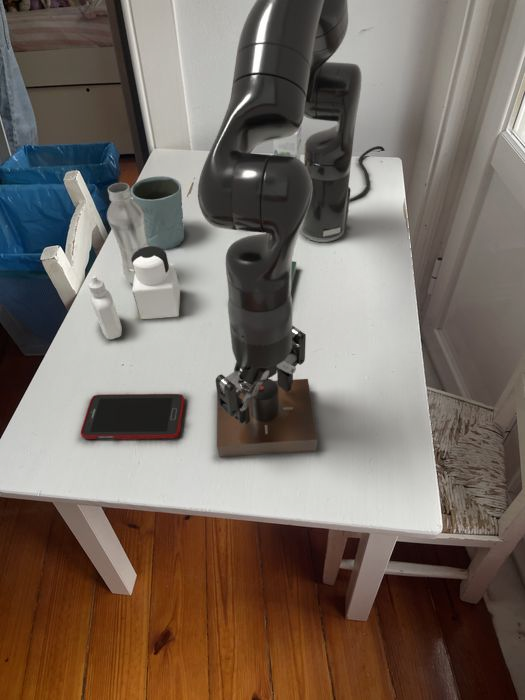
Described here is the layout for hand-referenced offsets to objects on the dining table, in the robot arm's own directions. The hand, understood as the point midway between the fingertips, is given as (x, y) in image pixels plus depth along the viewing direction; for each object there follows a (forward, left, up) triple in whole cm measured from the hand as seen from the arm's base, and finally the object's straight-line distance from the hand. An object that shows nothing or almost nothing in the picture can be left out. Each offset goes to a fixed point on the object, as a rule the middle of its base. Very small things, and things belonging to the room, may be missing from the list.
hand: (264, 403), depth 69 cm
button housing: (-22, -23, -5) cm, 32 cm away
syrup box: (-53, -48, -5) cm, 72 cm away
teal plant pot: (-18, -51, -5) cm, 54 cm away
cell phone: (+14, -15, -5) cm, 21 cm away
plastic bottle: (-6, -42, -5) cm, 43 cm away
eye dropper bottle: (+6, -34, -5) cm, 35 cm away
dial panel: (0, 0, -5) cm, 5 cm away
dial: (0, 0, -2) cm, 2 cm away
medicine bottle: (-4, -33, -5) cm, 34 cm away
